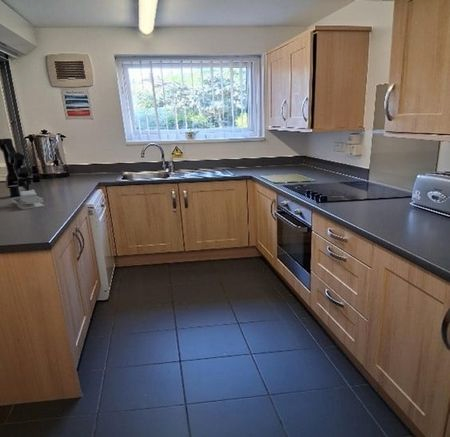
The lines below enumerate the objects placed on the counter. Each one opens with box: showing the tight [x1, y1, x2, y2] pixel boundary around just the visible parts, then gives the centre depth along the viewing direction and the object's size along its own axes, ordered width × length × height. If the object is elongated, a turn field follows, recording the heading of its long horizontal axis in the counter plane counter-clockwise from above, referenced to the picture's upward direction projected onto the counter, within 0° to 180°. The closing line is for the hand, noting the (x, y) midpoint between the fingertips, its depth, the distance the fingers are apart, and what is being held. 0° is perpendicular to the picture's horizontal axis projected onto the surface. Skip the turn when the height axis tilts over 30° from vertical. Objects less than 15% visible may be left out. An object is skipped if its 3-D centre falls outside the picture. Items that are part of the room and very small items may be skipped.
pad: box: [17, 203, 46, 210], centre depth 217 cm, size 12×12×1 cm
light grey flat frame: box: [12, 195, 44, 207], centre depth 230 cm, size 22×14×2 cm, turn 43°
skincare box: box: [19, 189, 38, 204], centre depth 219 cm, size 8×6×15 cm
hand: (28, 190), depth 222 cm, fingers closed
